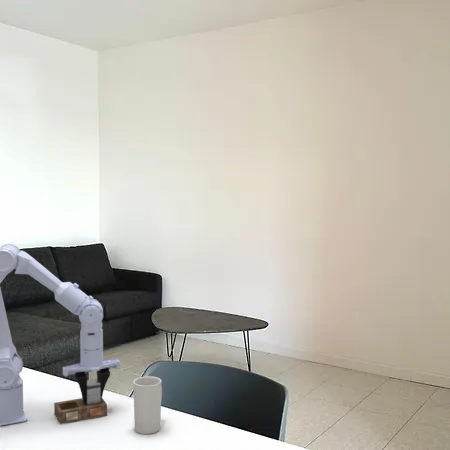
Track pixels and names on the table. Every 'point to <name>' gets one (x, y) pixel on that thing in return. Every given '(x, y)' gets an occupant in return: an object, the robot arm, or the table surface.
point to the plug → (93, 392)
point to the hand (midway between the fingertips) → (92, 398)
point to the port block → (78, 410)
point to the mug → (147, 404)
